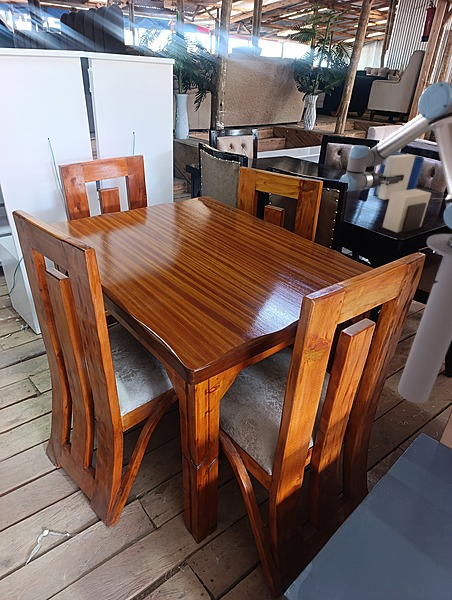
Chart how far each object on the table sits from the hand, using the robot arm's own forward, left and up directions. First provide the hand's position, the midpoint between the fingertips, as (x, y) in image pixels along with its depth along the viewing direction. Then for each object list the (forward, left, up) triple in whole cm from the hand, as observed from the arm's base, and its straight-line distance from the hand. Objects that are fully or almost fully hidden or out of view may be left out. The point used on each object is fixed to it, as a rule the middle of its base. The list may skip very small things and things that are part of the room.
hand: (398, 176), depth 198 cm
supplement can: (+33, -32, -18) cm, 50 cm away
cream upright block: (-19, +16, -18) cm, 30 cm away
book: (+15, -22, -18) cm, 33 cm away
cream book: (0, +2, -10) cm, 10 cm away
